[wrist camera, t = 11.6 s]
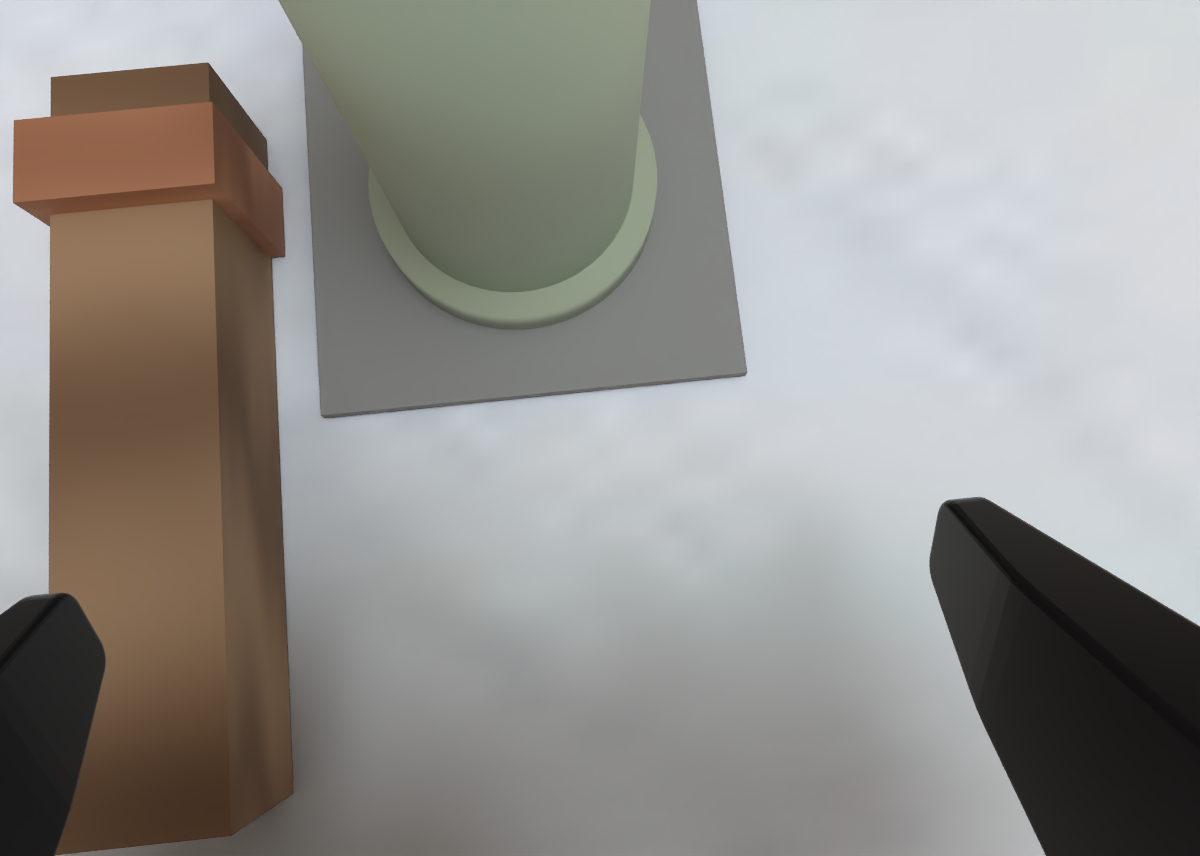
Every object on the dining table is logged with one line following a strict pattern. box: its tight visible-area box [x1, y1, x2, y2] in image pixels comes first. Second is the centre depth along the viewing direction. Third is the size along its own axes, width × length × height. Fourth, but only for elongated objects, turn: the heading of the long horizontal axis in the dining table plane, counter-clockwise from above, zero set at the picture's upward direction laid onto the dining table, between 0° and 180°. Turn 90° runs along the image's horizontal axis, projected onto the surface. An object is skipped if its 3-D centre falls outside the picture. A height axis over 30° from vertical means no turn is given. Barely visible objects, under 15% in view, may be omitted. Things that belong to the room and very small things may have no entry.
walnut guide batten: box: [13, 63, 293, 855], centre depth 17 cm, size 14×4×4 cm, turn 6°
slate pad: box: [302, 0, 747, 418], centre depth 20 cm, size 9×9×1 cm
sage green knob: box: [279, 0, 657, 330], centre depth 13 cm, size 6×6×12 cm
